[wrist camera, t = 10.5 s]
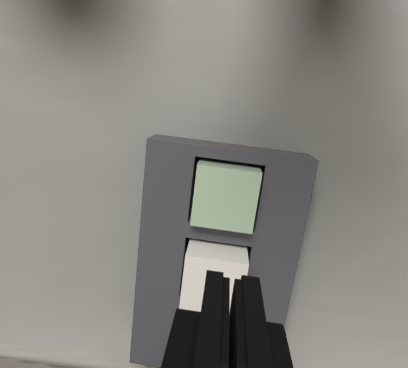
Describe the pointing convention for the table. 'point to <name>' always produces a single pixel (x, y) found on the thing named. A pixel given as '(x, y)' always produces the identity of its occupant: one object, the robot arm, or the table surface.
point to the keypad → (213, 231)
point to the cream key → (210, 268)
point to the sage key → (225, 195)
